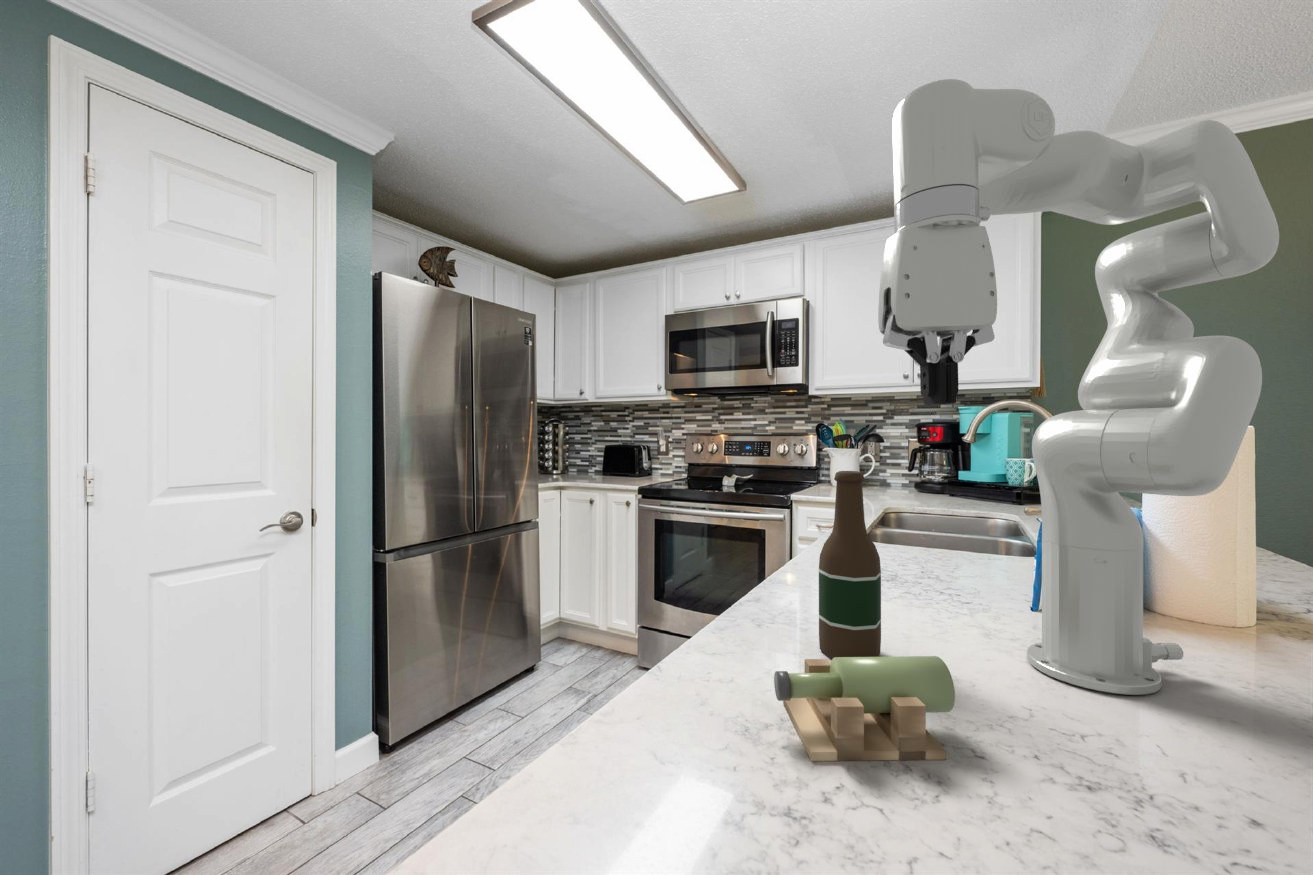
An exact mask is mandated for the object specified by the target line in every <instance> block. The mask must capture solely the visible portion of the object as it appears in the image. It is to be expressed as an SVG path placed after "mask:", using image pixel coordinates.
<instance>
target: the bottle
mask: <svg viewBox="0 0 1313 875" xmlns="http://www.w3.org/2000/svg"><path fill="white" fill-rule="evenodd" d="M830 664H831V665H830V673H805V672H800V673H799V672H794V673H793V672H791V673H789V672H788V671H787V670H783V671H782V670H778V671H775V672H774V677H773V682H774V683H773V685H774V692H775V693H774V694H775V696H776V699H777V701H779V702H780V701H790V699H791V698H858V700H859V701H860V702H861V703H862V705H863V706H864V714H868V713H891V697H917V698H918V699H919V700H920V701H921V702H922V703H923V704H924V705H925V706H926V713H927V714H928V713H929V714H930V713H932V714H933V713H934V714H935V713H949V712H951V711H952V710H953V709H954V706H955V702H956V692H955V684H954V680H953V677H952V674H951V672H950V669H949V668H948V666H947V664H946V663H945V661H944V660H943V659H942V658H940V657H939V656H936V655H920V656H919V655H918V656H917V655H916V656H915V655H914V656H911V655H910V656H909V655H905V656H904V655H903V656H878V657H834V658H833V659H832V660H831V661H830Z"/></svg>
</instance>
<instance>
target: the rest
mask: <svg viewBox="0 0 1313 875" xmlns="http://www.w3.org/2000/svg"><path fill="white" fill-rule="evenodd" d="M830 665H831V661H829V659H828V658H804V673H830ZM783 706H784V708H785V711H786V712H787V715H788V717H789V718H790V721H791V723H792V725H793V727H794V728H795V731H796V733H797V735H798V737H799V739H800V741H801V743H802V745H803V747H804V749H805V751H806V754H807V756H808V757H809V759H810V761H811V762H823V761H824V762H825V761H827V762H832V761H833V762H834V761H835V762H840V761H850V762H851V761H852V762H853V761H920V760H922V761H923V760H924V761H927V760H928V761H932V760H933V761H935V760H936V761H937V760H941V761H942V760H946V759H947V753H946V752H947V750H946V749H945V748H944V747H943V746H942V745H941V743H939V741H937V739H936V738H935V737H934V736H933V735H932V734H931V733H930V731H928V730H927V728H926V726H927V725H926V722H927V721H926V716H927V714H926V706H925V705H924V704H923V703H922V702H921V701H920V700H919V699H918V698H917V697H891V713H868V714H864V706H863V705H862V703H861V702H860V701H859V700H858V698H791V699H790V701H783Z"/></svg>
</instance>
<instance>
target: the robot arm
mask: <svg viewBox="0 0 1313 875" xmlns="http://www.w3.org/2000/svg"><path fill="white" fill-rule="evenodd" d="M891 126H892V128H891V130H892V163H893V164H892V170H893V173H892V174H893V208H894V209H893V214H894V216H893V217H894V220H893V222H894V234H893V235H892V236H890V237H889V238H887V239H886V242H885V246H884V250H883V256H882V264H881V270H880V281H879V291H878V292H879V293H878V307H877V308H878V315H877V316H878V320H877V321H878V323H877V324H878V330H879V332H880V334H882V335H883V338H882V343H883V346H885V347H888V348H893V349H897V350H904V352H905V353H907V354H908V356H910V357H911V358H912V359H913V362H914V364H915V365H916V366H917V367H919V378H920V380H919V383H920V395H921V397H922V398H923V405H924V406H932V405H933V406H934V405H935V406H939V405H952V404H956V402H957V395H958V394H959V363H962V361H964V359H965V356H966V355H967V353H969V351H970V350H971V349H972V348H973V347H977V346H980V345H983V344H987V343H990V342H993V341H994V339H995V333H994V329H993V325H994V324H995V323H996V321H997V316H998V315H997V313H998V312H997V311H998V291H997V278H996V270H995V269H996V268H995V263H994V256H993V251H992V246H991V242H990V239H989V234H988V231H987V229H986V228H987V227H986V226H984V225H981V224H980V223H981V222H987V221H989V219H990V217H991V216H1002V215H1018V214H1030V213H1031V214H1032V213H1040V212H1049V211H1050V212H1053V213H1056V214H1060V215H1065V216H1068V217H1071V218H1075V219H1079V220H1083V221H1088V222H1091V223H1094V224H1097V225H1098V224H1099V225H1106V226H1110V225H1111V226H1113V225H1121V224H1124V223H1129V222H1130V223H1131V222H1134V221H1138V220H1139V219H1143V218H1148V217H1151V216H1154V215H1157V214H1160V213H1163V212H1166V211H1170V210H1173V209H1177V208H1179V207H1183V206H1187V205H1190V204H1192V203H1196V202H1201V203H1203V204H1204V206H1205V209H1206V210H1207V211H1203V212H1200V213H1197V214H1194V215H1189V216H1187V217H1183V218H1179V219H1175V220H1172V221H1169V222H1164V223H1161V224H1158V225H1154V226H1151V227H1147V228H1144V229H1140V230H1137V231H1135V232H1132V233H1129V234H1127V235H1124V236H1122V237H1120V238H1118V239H1116V240H1114V241H1112V242H1111V243H1110V244H1108V245H1107V246H1106V247H1105V248H1104V249H1102V251H1101V252H1100V253H1099V255H1098V257H1097V260H1096V262H1095V266H1094V277H1095V283H1096V287H1097V290H1098V291H1097V292H1098V294H1099V298H1100V301H1101V304H1102V308H1103V311H1104V314H1105V317H1106V321H1107V328H1106V330H1105V333H1104V335H1103V337H1102V339H1101V341H1100V342H1099V345H1098V347H1097V349H1096V350H1095V352H1094V354H1093V356H1092V357H1091V359H1090V361H1089V363H1088V365H1087V367H1086V369H1085V371H1084V373H1083V375H1082V377H1081V380H1080V382H1079V386H1078V389H1077V399H1078V400H1077V401H1078V403H1079V405H1080V407H1081V408H1082V409H1081V410H1071V411H1066V412H1061V413H1058V414H1056V415H1052V416H1051V417H1049V418H1046V420H1044V421H1043V422H1042V423H1041V424H1039V425H1038V427H1037V428H1036V430H1035V432H1034V434H1033V437H1032V441H1031V451H1032V452H1031V453H1032V459H1033V464H1034V468H1035V472H1036V477H1037V482H1038V488H1039V494H1040V503H1041V504H1040V506H1041V642H1035V643H1034V644H1031V645H1030V646H1029V647H1027V649H1026V660H1027V661H1028V663H1029V664H1030V665H1031V666H1033V668H1035V669H1037V670H1038V671H1040V672H1041V673H1043V674H1045V675H1047V676H1049V677H1052V678H1054V679H1056V680H1059V681H1061V682H1064V683H1067V684H1069V685H1074V686H1077V687H1080V688H1084V689H1088V690H1092V691H1093V690H1094V691H1097V692H1104V693H1109V694H1115V695H1128V696H1129V695H1130V696H1139V695H1140V696H1142V695H1149V694H1154V693H1157V692H1158V691H1160V690H1161V688H1162V676H1161V674H1160V672H1158V671H1157V670H1156V669H1155V668H1153V663H1157V662H1158V661H1159V660H1162V661H1163V660H1164V661H1179V660H1182V659H1183V657H1184V651H1183V648H1182V647H1181V646H1180V645H1179V644H1178V643H1177V642H1156V643H1153V642H1152V641H1151V640H1150V639H1149V638H1148V637H1145V636H1144V532H1143V528H1142V525H1141V523H1140V521H1139V518H1138V517H1137V515H1136V514H1135V512H1134V511H1133V509H1132V508H1131V506H1129V505H1128V503H1127V502H1126V500H1125V499H1124V498H1123V497H1122V495H1121V494H1120V493H1133V494H1136V493H1137V494H1146V495H1147V494H1148V495H1160V496H1174V497H1197V496H1198V497H1199V496H1204V495H1207V494H1209V493H1210V494H1211V493H1212V492H1214V491H1215V490H1217V489H1218V488H1219V487H1220V486H1221V485H1222V484H1223V483H1224V482H1225V480H1226V478H1227V477H1228V475H1229V473H1230V472H1231V469H1232V467H1233V466H1234V465H1233V464H1234V462H1235V460H1236V458H1237V455H1238V452H1239V450H1240V447H1241V444H1242V443H1243V440H1244V438H1245V435H1246V433H1247V430H1248V428H1249V425H1250V424H1251V420H1252V418H1253V415H1254V414H1255V410H1256V408H1257V406H1258V402H1259V399H1260V396H1261V391H1262V386H1263V370H1262V365H1261V361H1260V358H1259V355H1258V353H1257V351H1256V350H1255V349H1254V348H1253V346H1252V345H1250V344H1249V343H1248V342H1246V341H1244V340H1243V339H1240V338H1239V337H1236V336H1229V335H1205V336H1195V337H1194V333H1195V332H1194V331H1195V327H1194V323H1193V321H1192V320H1191V319H1190V317H1188V315H1187V314H1186V313H1184V311H1182V310H1181V309H1180V308H1179V307H1177V306H1176V305H1175V304H1173V303H1172V302H1170V301H1168V300H1166V299H1163V298H1162V297H1160V296H1159V294H1158V293H1160V292H1162V291H1169V290H1170V291H1171V290H1174V289H1180V288H1185V287H1189V286H1195V285H1201V284H1205V283H1210V282H1215V281H1221V280H1226V279H1231V278H1236V277H1241V276H1244V275H1247V274H1250V273H1252V272H1256V271H1258V270H1259V269H1262V268H1263V267H1265V266H1266V265H1267V264H1268V263H1269V262H1270V261H1272V259H1273V258H1274V257H1275V255H1276V253H1277V251H1278V248H1279V246H1280V245H1279V244H1280V231H1279V225H1278V221H1277V218H1276V215H1275V212H1274V210H1273V208H1272V206H1271V203H1270V201H1269V199H1268V197H1267V195H1266V192H1265V190H1264V188H1263V186H1262V183H1261V181H1260V179H1259V176H1258V174H1257V171H1256V169H1255V167H1254V164H1253V163H1252V160H1251V158H1250V156H1249V154H1248V152H1247V151H1246V149H1245V147H1244V146H1243V144H1242V142H1241V141H1240V139H1239V138H1238V136H1237V135H1236V134H1235V133H1234V132H1233V131H1232V130H1231V128H1229V127H1228V126H1227V125H1226V124H1224V123H1222V122H1220V121H1217V120H1211V119H1207V120H1201V121H1197V122H1195V123H1194V122H1193V123H1191V124H1189V125H1186V126H1184V127H1181V128H1178V129H1176V130H1174V131H1172V132H1169V133H1166V134H1164V135H1161V136H1159V137H1156V138H1155V139H1154V138H1153V139H1152V140H1149V141H1146V142H1144V143H1141V144H1138V145H1133V146H1132V145H1129V144H1126V143H1124V142H1122V141H1118V140H1116V139H1115V138H1114V139H1113V138H1110V137H1108V136H1106V135H1103V134H1101V133H1098V132H1096V131H1092V130H1075V131H1069V132H1063V133H1058V134H1055V131H1056V119H1055V115H1054V112H1053V110H1052V107H1050V105H1049V103H1048V102H1047V101H1046V100H1045V99H1043V97H1042V96H1040V95H1038V94H1036V93H1034V92H1032V91H1029V90H1025V89H1019V88H1018V89H1017V88H974V87H973V86H972V85H971V84H969V83H968V82H967V81H964V80H962V79H957V78H956V79H955V78H945V79H938V80H935V81H934V80H933V81H931V82H928V83H926V84H922V85H921V86H919V87H917V88H915V89H914V90H912V91H911V92H908V94H907V95H905V96H904V97H903V98H902V99H901V101H900V102H899V103H898V104H897V106H896V108H895V110H894V112H893V117H892V125H891ZM971 331H972V333H970V332H971ZM968 333H970V334H968ZM938 338H939V340H938Z"/></svg>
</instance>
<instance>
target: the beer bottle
mask: <svg viewBox="0 0 1313 875" xmlns="http://www.w3.org/2000/svg"><path fill="white" fill-rule="evenodd" d="M833 480H834V481H835V482H836V488H835V502H834V505H835V506H834V517H833V518H834V519H833V520H834V522H833V525H832V530H831V531H832V532H831V533H830V535H829V536H828V537H827V538H826V540H825V542H824V543H823V545H822V549H821V551H820V554H819V559H818V560H819V561H818V562H819V563H818V640H819V644H818V645H819V649H820V650H819V651H820V652H822V653H823V654H824V655H825V656H827V657H828V658H829V659H830V660H831V661H832V659H833V658H834V657H880V654H881V647H882V646H881V644H882V568H881V558H880V554H879V552H878V550H877V547H876V545H875V543H874V541H873V540H872V538H871V537H870V536H869V534H868V532H867V526H866V522H865V507H864V493H863V492H864V491H863V482H864V481H865V476H864V473H863V472H861V471H858V470H857V471H856V470H839V471H837V472H835V474H834V478H833Z"/></svg>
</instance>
